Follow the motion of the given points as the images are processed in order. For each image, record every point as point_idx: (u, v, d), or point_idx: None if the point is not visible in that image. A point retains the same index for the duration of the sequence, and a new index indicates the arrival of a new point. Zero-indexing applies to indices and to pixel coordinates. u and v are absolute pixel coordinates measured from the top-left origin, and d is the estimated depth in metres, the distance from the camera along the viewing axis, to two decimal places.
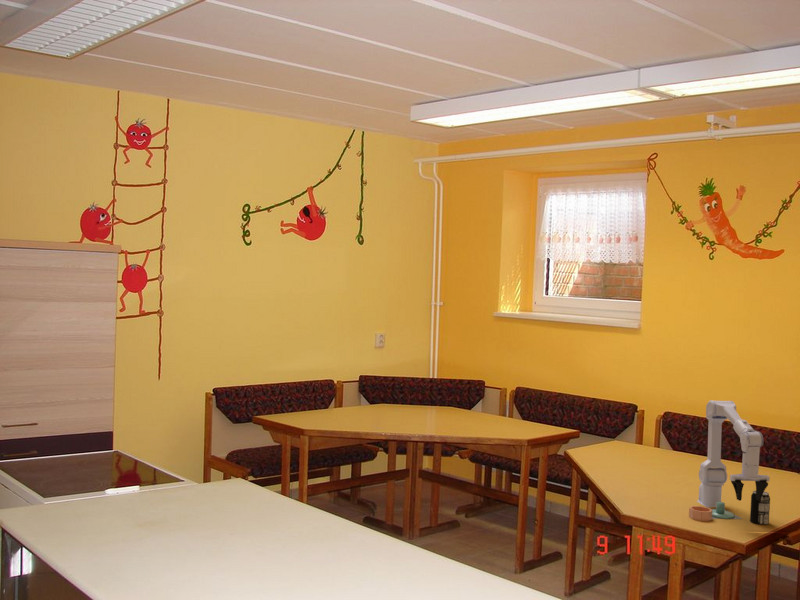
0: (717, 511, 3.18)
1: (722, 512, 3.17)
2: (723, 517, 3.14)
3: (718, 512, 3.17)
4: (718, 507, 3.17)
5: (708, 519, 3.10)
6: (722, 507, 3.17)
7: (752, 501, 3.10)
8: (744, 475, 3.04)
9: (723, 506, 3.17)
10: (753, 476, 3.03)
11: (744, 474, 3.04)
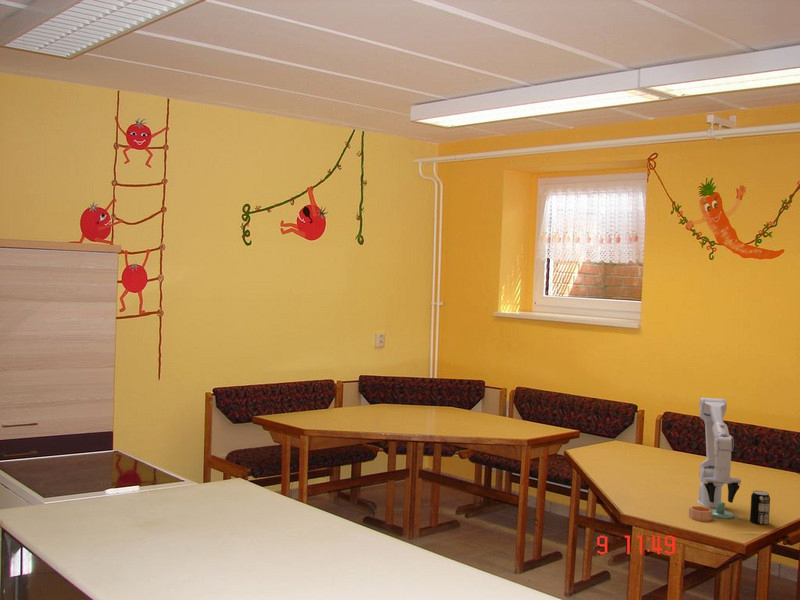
0: (717, 511, 3.18)
1: (722, 512, 3.17)
2: (723, 517, 3.14)
3: (718, 512, 3.17)
4: (718, 507, 3.17)
5: (708, 519, 3.10)
6: (722, 507, 3.17)
7: (752, 501, 3.10)
8: (716, 478, 3.17)
9: (723, 506, 3.17)
10: (725, 479, 3.15)
11: (716, 477, 3.17)
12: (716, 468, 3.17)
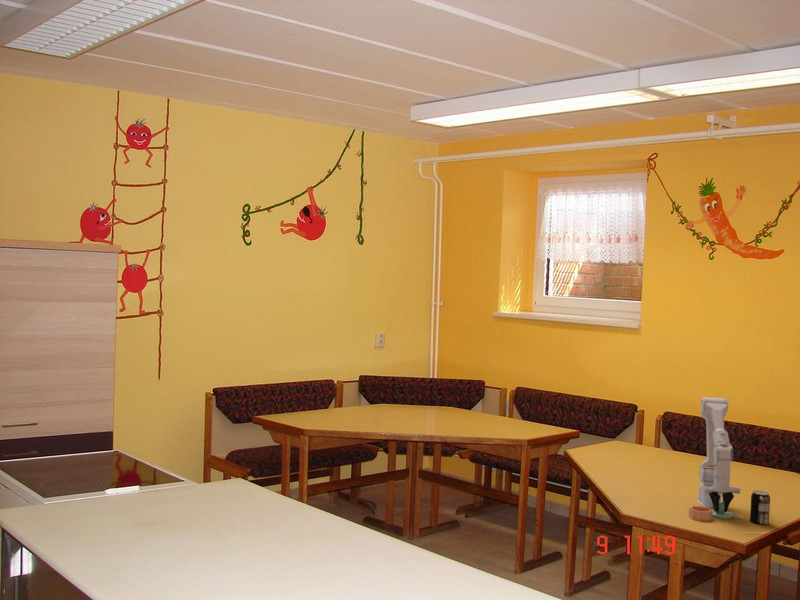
0: None
1: (722, 512, 3.17)
2: (723, 517, 3.14)
3: (718, 512, 3.17)
4: None
5: (708, 519, 3.10)
6: (722, 507, 3.17)
7: (752, 501, 3.10)
8: (716, 487, 3.17)
9: (723, 506, 3.17)
10: (724, 488, 3.15)
11: (716, 486, 3.17)
12: (716, 478, 3.17)
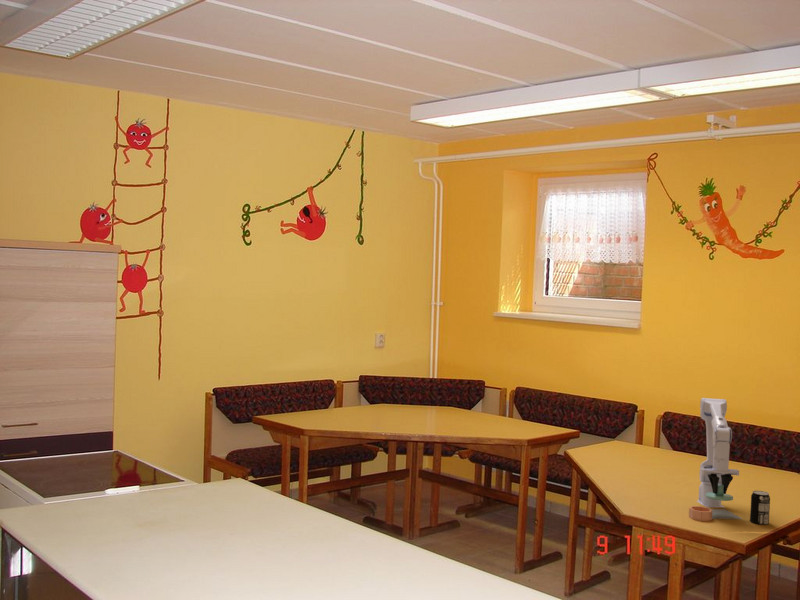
0: None
1: (721, 494, 3.16)
2: (722, 499, 3.13)
3: (717, 494, 3.17)
4: None
5: (708, 519, 3.10)
6: (721, 489, 3.16)
7: (752, 501, 3.10)
8: (715, 469, 3.16)
9: (722, 488, 3.16)
10: (723, 470, 3.15)
11: (715, 468, 3.16)
12: (714, 459, 3.16)
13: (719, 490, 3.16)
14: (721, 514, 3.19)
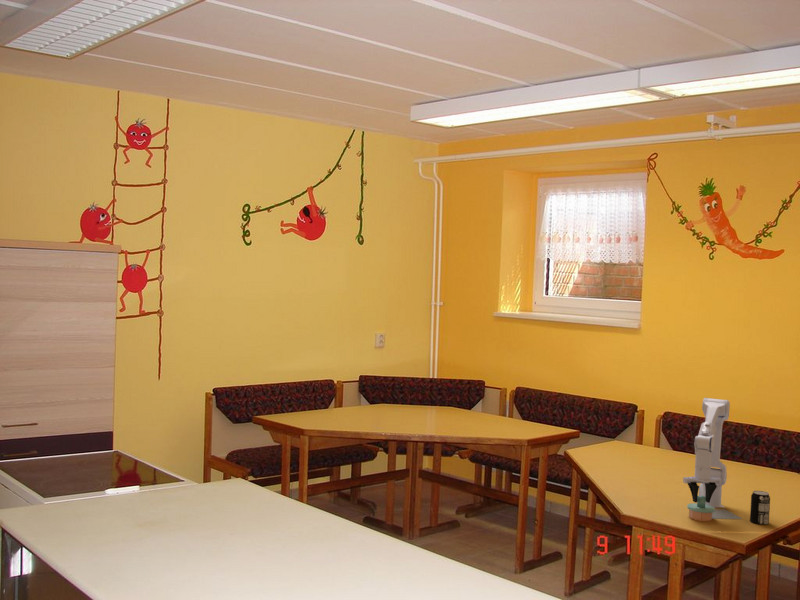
0: (698, 505, 3.13)
1: (702, 506, 3.12)
2: (703, 511, 3.08)
3: (698, 506, 3.12)
4: (698, 501, 3.12)
5: (708, 519, 3.10)
6: (703, 501, 3.12)
7: (752, 501, 3.10)
8: (696, 478, 3.12)
9: (704, 500, 3.12)
10: (705, 479, 3.10)
11: (696, 477, 3.12)
12: (696, 467, 3.12)
13: (700, 501, 3.12)
14: (721, 514, 3.19)
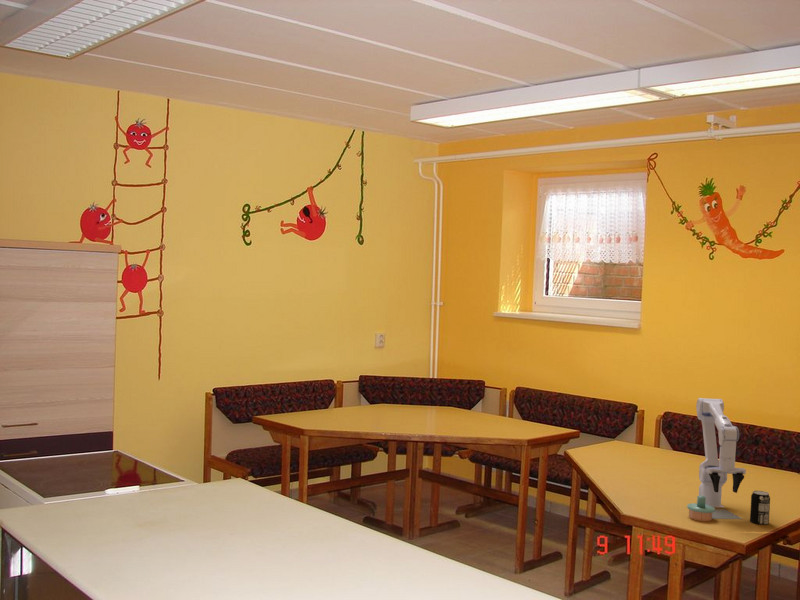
0: (698, 505, 3.13)
1: (702, 506, 3.12)
2: (703, 511, 3.08)
3: (698, 506, 3.12)
4: (698, 501, 3.12)
5: (708, 519, 3.10)
6: (703, 501, 3.12)
7: (752, 501, 3.10)
8: (721, 468, 3.16)
9: (704, 500, 3.12)
10: (729, 469, 3.15)
11: (721, 467, 3.16)
12: (721, 458, 3.17)
13: (700, 501, 3.12)
14: (721, 514, 3.19)
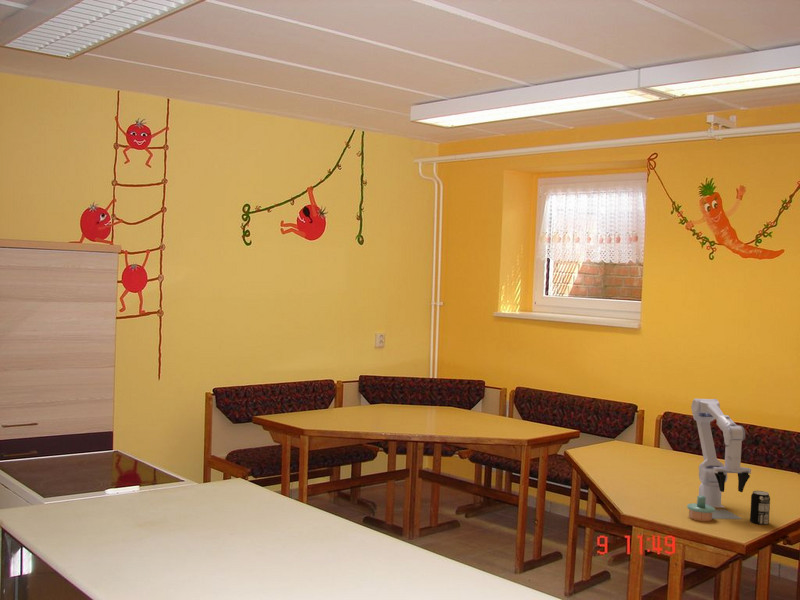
0: (698, 505, 3.13)
1: (702, 506, 3.12)
2: (703, 511, 3.08)
3: (698, 506, 3.12)
4: (698, 501, 3.12)
5: (708, 519, 3.10)
6: (703, 501, 3.12)
7: (752, 501, 3.10)
8: (727, 467, 3.17)
9: (704, 500, 3.12)
10: (735, 468, 3.16)
11: (727, 466, 3.17)
12: (726, 458, 3.17)
13: (700, 501, 3.12)
14: (721, 514, 3.19)
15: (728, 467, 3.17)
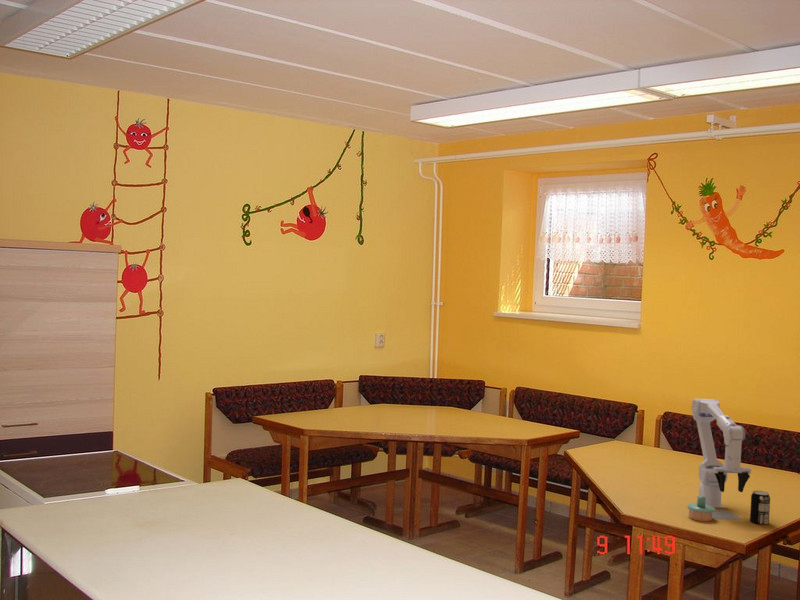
0: (698, 505, 3.13)
1: (702, 506, 3.12)
2: (703, 511, 3.08)
3: (698, 506, 3.12)
4: (698, 501, 3.12)
5: (708, 519, 3.10)
6: (703, 501, 3.12)
7: (752, 501, 3.10)
8: (727, 467, 3.17)
9: (704, 500, 3.12)
10: (735, 468, 3.16)
11: (727, 466, 3.17)
12: (726, 458, 3.17)
13: (700, 501, 3.12)
14: (721, 514, 3.19)
15: (728, 467, 3.17)
